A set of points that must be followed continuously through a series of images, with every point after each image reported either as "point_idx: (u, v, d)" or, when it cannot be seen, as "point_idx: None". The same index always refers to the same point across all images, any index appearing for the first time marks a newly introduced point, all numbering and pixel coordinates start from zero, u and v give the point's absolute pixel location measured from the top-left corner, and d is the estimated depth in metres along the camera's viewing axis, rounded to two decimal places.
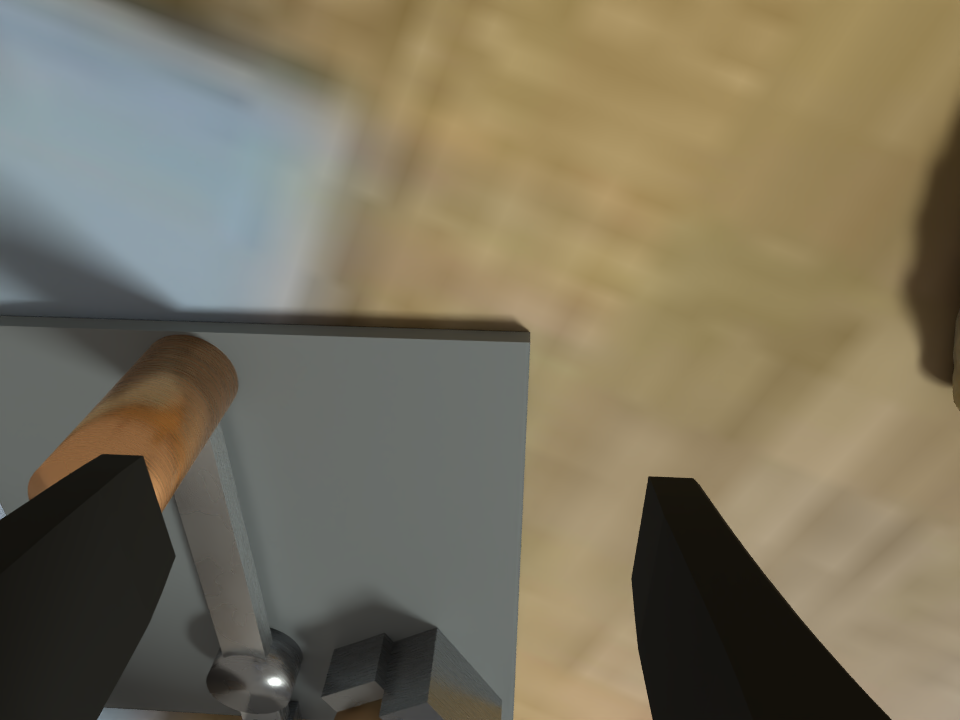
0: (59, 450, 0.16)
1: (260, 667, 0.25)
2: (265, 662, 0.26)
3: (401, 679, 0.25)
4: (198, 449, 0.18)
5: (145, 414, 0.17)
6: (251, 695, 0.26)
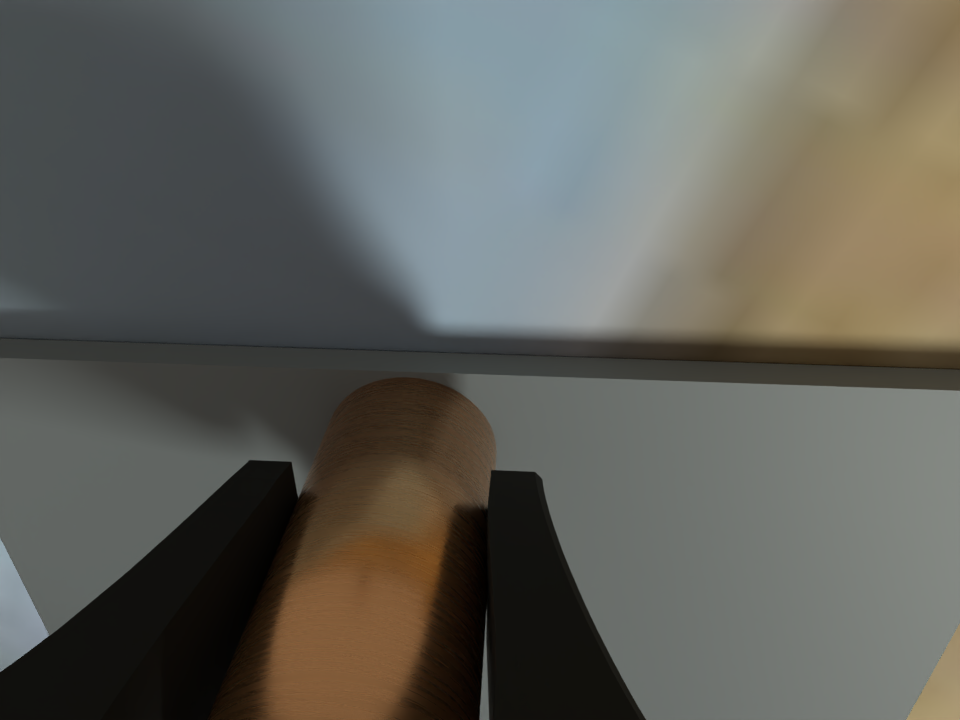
0: (261, 687, 0.06)
1: None
2: None
3: None
4: None
5: (418, 571, 0.08)
6: None
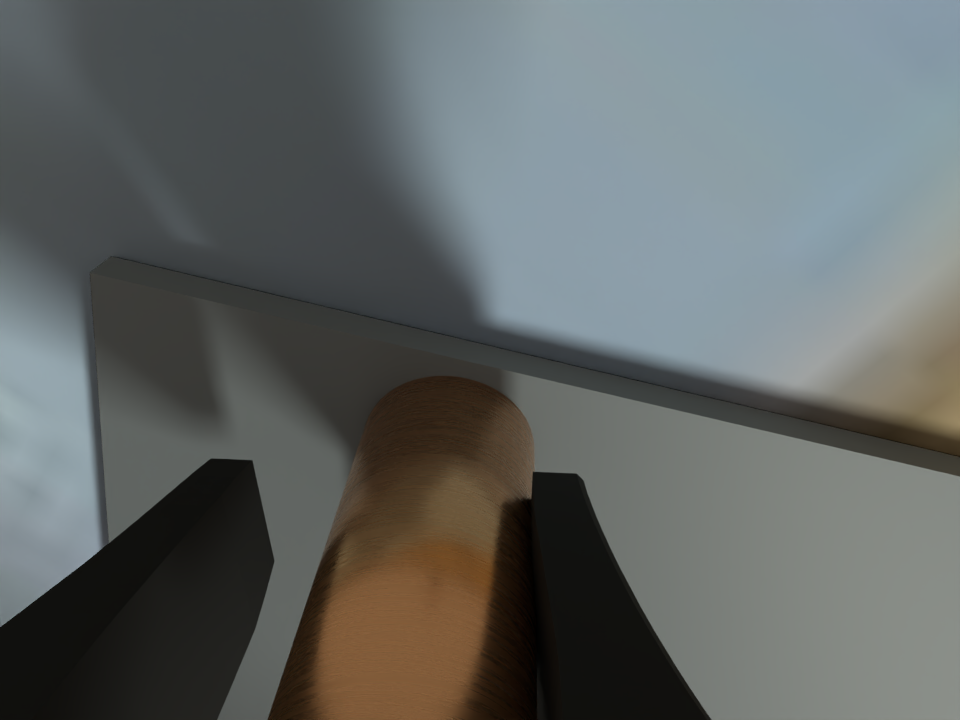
0: (333, 686, 0.06)
1: None
2: None
3: None
4: None
5: (480, 574, 0.08)
6: None
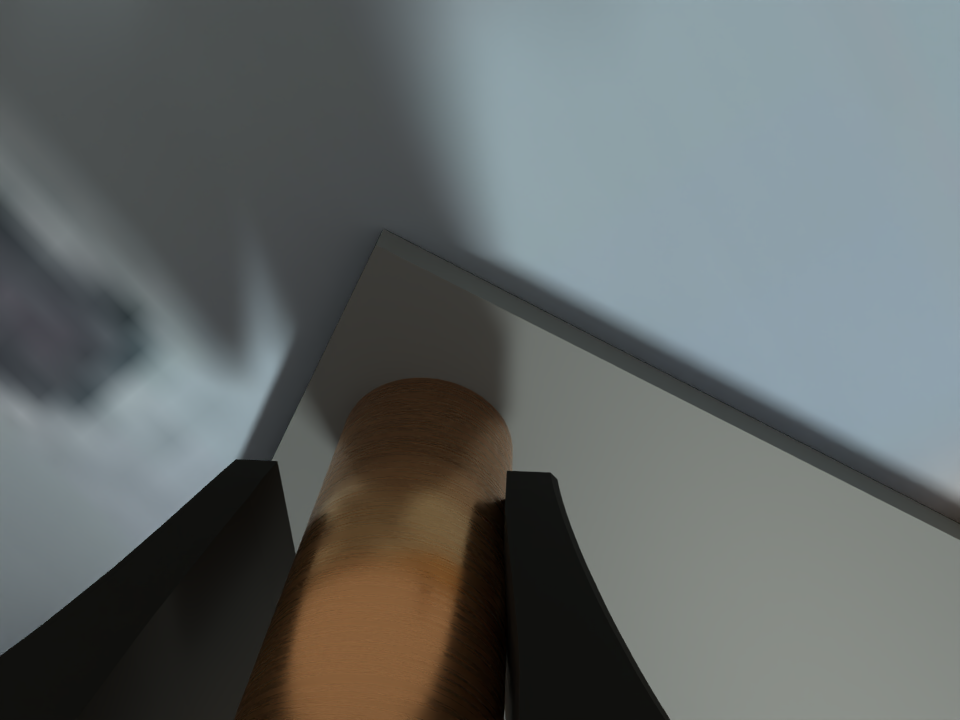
0: (292, 688, 0.06)
1: None
2: None
3: None
4: None
5: (444, 574, 0.08)
6: None
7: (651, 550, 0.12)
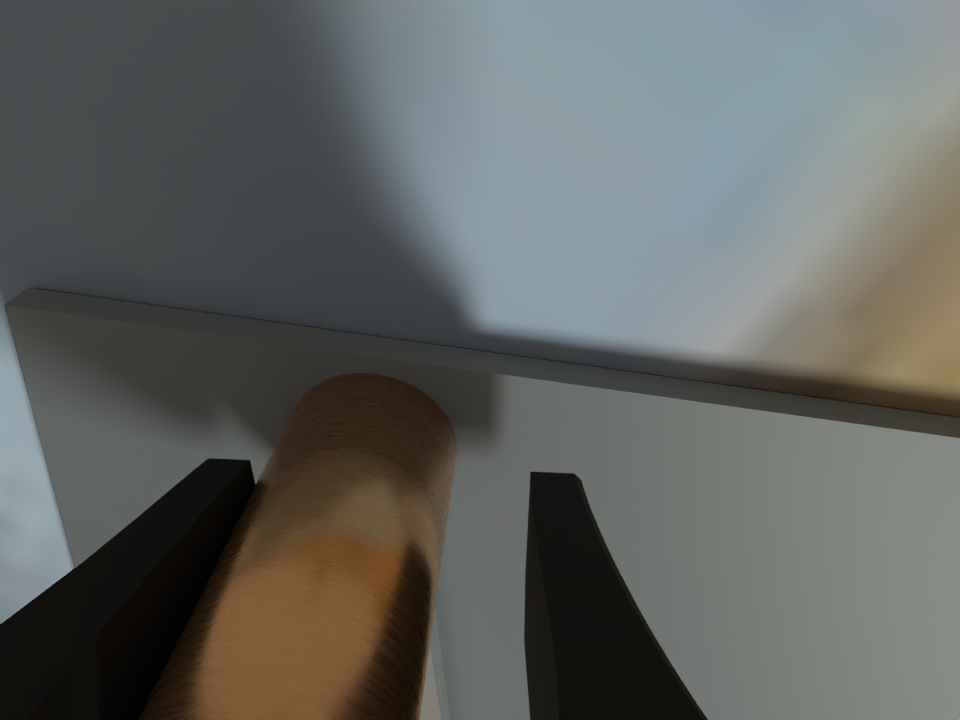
0: (184, 682, 0.06)
1: None
2: None
3: None
4: None
5: (352, 563, 0.08)
6: None
7: None
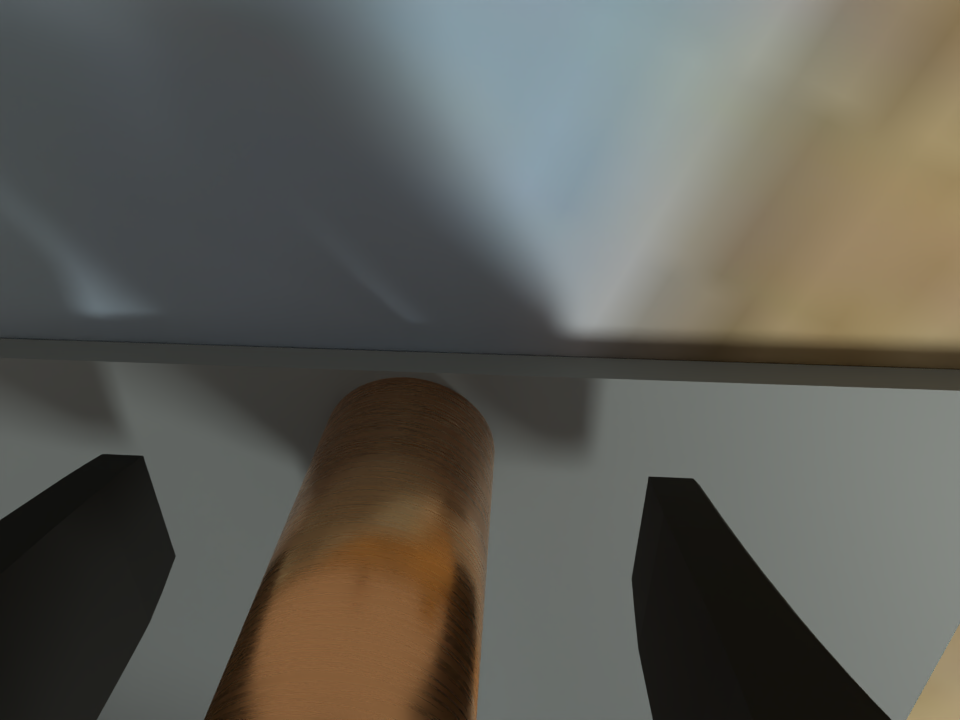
0: (257, 686, 0.06)
1: None
2: None
3: None
4: None
5: (415, 571, 0.08)
6: None
7: None
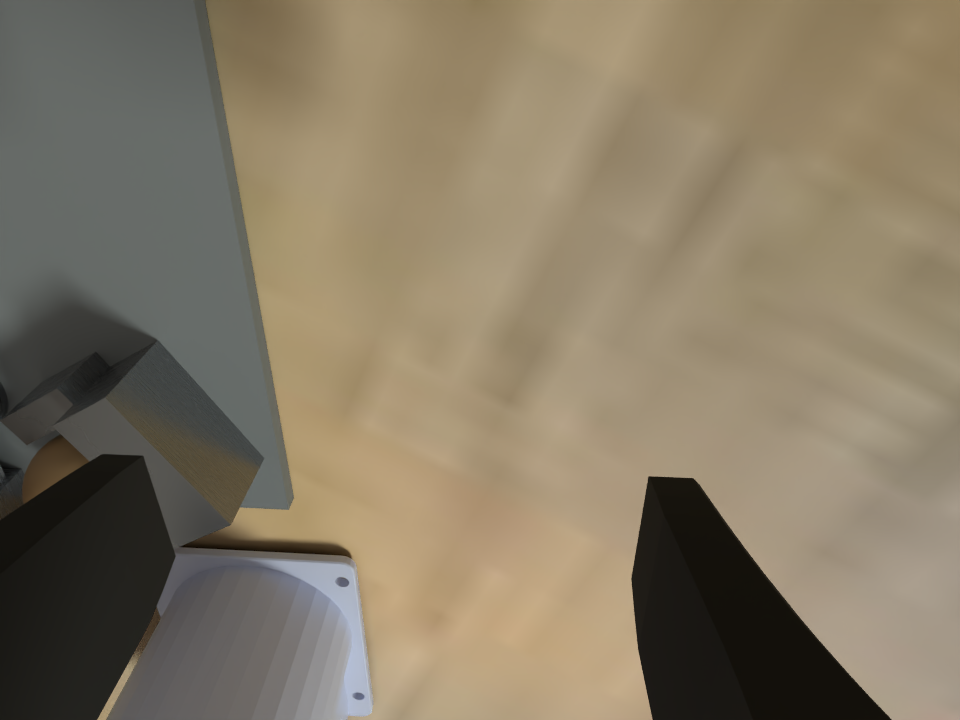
0: None
1: None
2: None
3: (95, 390, 0.19)
4: None
5: None
6: None
7: None
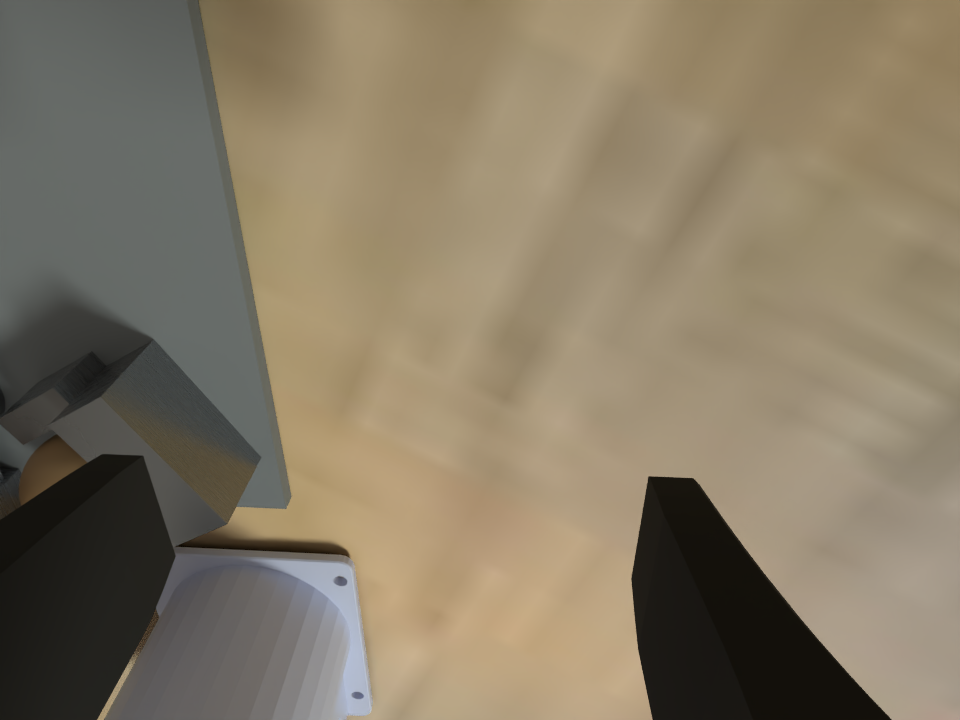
0: None
1: None
2: None
3: (91, 389, 0.19)
4: None
5: None
6: None
7: None
